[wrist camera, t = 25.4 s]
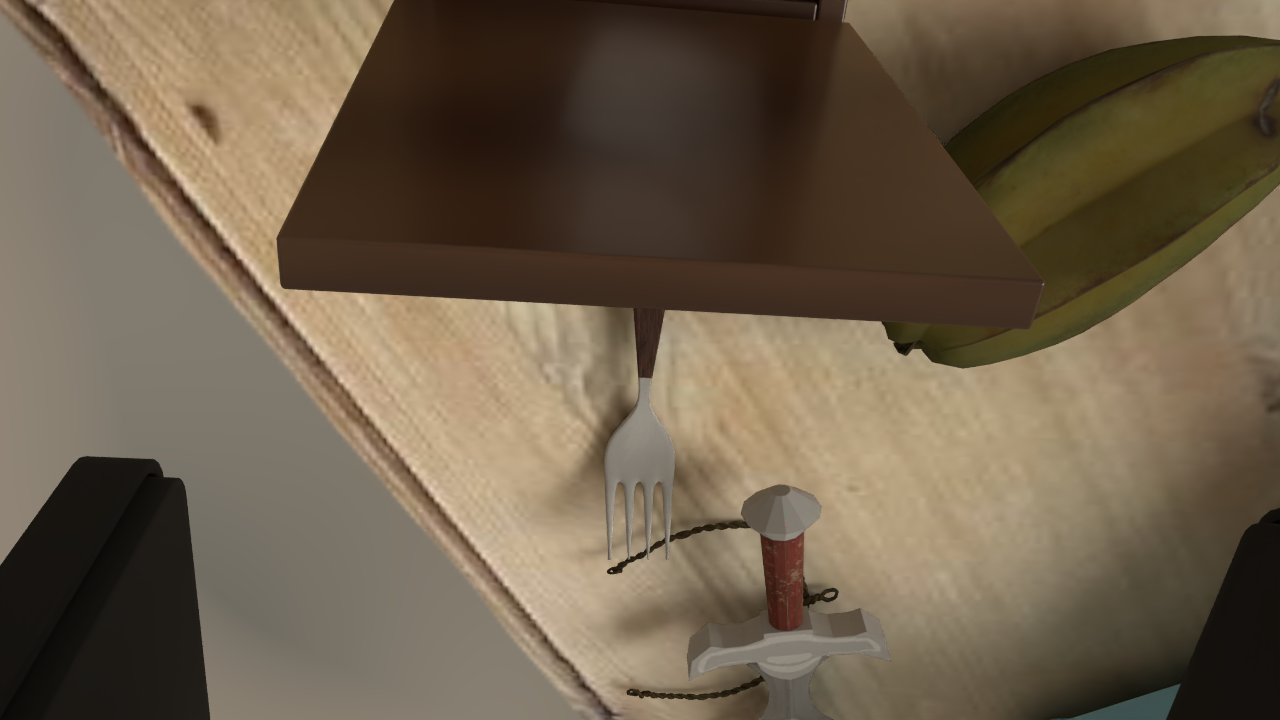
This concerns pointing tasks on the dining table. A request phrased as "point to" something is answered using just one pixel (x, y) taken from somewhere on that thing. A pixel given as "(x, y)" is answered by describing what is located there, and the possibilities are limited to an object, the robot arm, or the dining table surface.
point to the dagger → (785, 614)
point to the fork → (641, 442)
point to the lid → (645, 172)
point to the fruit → (1115, 179)
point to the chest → (753, 7)
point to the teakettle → (1136, 707)
